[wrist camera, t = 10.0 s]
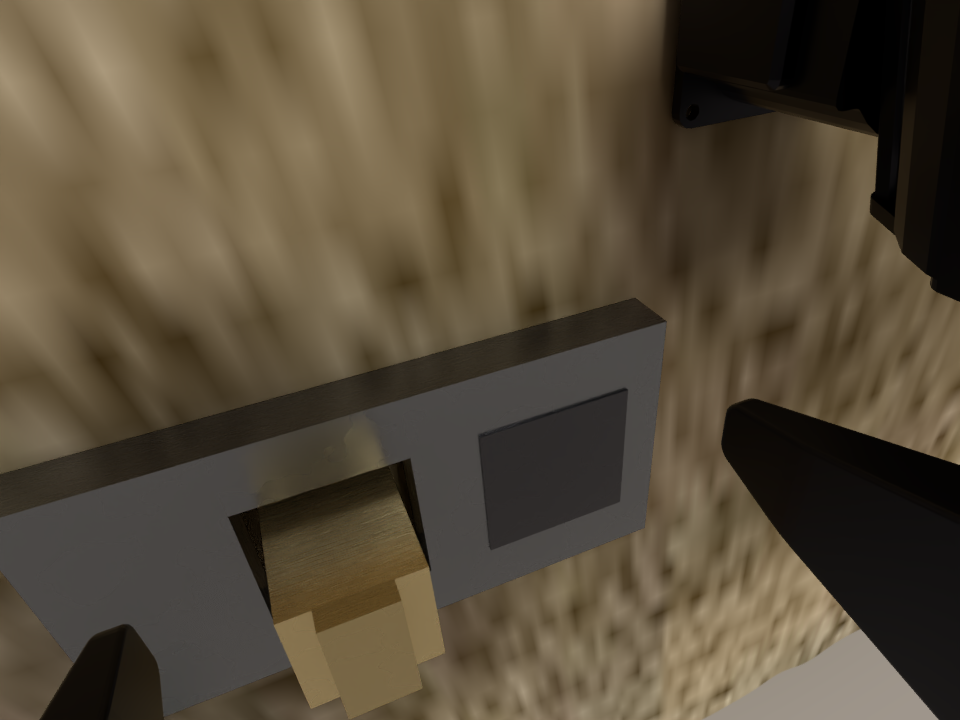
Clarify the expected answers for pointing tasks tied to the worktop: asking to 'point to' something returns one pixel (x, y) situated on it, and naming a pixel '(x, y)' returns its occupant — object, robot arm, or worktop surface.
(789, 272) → the worktop surface
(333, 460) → the grey slotted board
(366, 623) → the stepped wooden chunk
